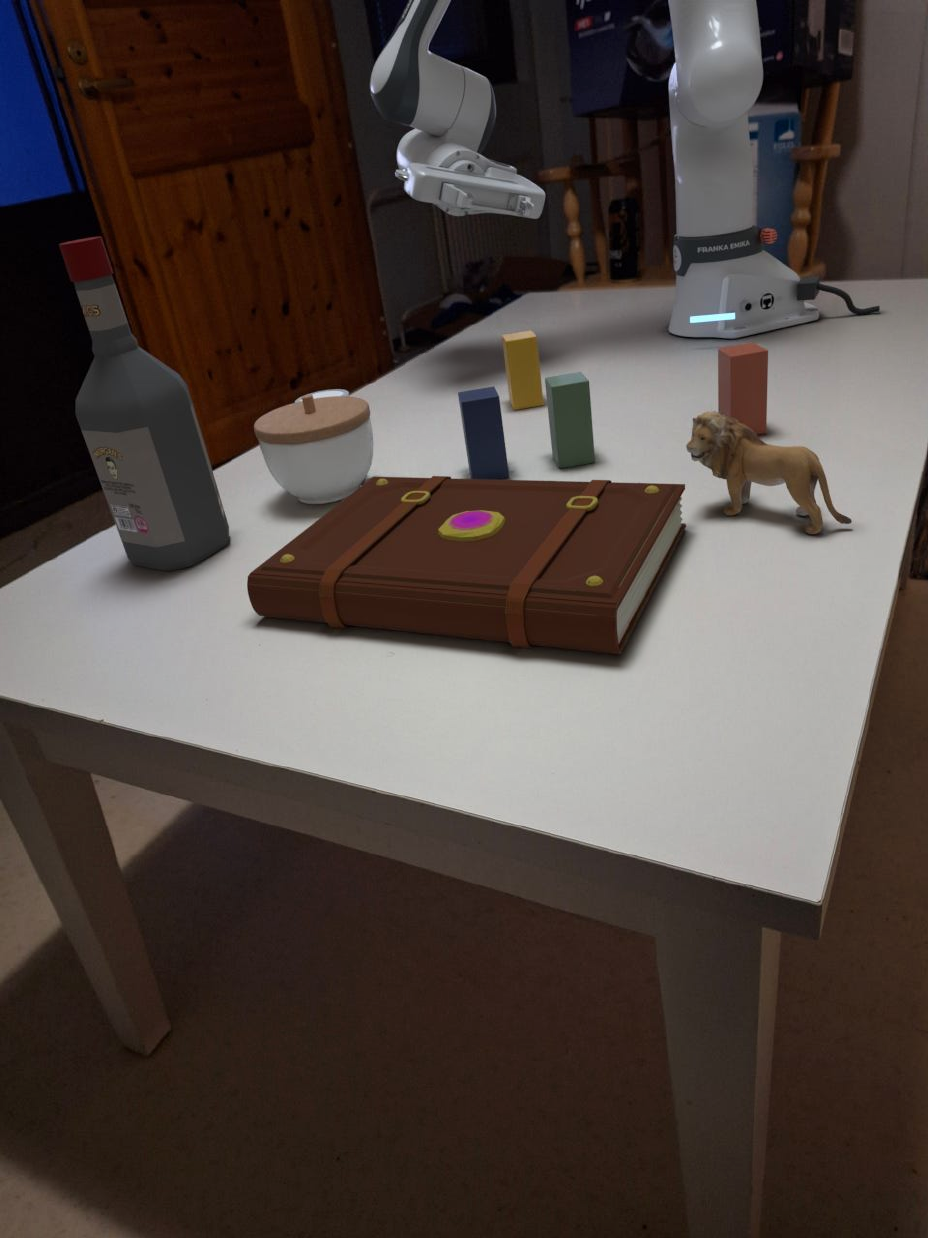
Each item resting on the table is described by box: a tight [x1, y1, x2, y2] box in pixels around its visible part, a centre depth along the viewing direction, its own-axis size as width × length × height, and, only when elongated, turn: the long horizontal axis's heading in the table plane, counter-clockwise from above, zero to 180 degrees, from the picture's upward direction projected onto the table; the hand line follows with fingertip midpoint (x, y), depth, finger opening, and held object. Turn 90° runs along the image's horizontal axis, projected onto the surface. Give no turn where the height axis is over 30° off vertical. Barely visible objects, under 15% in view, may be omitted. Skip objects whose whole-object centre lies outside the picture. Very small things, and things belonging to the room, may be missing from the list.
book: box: [246, 475, 687, 655], centre depth 77 cm, size 23×32×5 cm
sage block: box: [544, 371, 596, 469], centre depth 97 cm, size 4×4×9 cm
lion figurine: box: [685, 410, 853, 535], centre depth 78 cm, size 15×5×9 cm, turn 50°
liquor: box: [58, 236, 230, 572], centre depth 85 cm, size 9×9×30 cm
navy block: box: [457, 386, 510, 480], centre depth 97 cm, size 4×4×9 cm
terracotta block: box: [717, 342, 769, 436], centre depth 97 cm, size 4×4×9 cm
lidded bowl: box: [253, 394, 375, 505], centre depth 99 cm, size 13×13×11 cm
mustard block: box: [501, 329, 545, 411], centre depth 118 cm, size 4×4×9 cm
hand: (499, 206), depth 120 cm, fingers open, 8 cm apart
